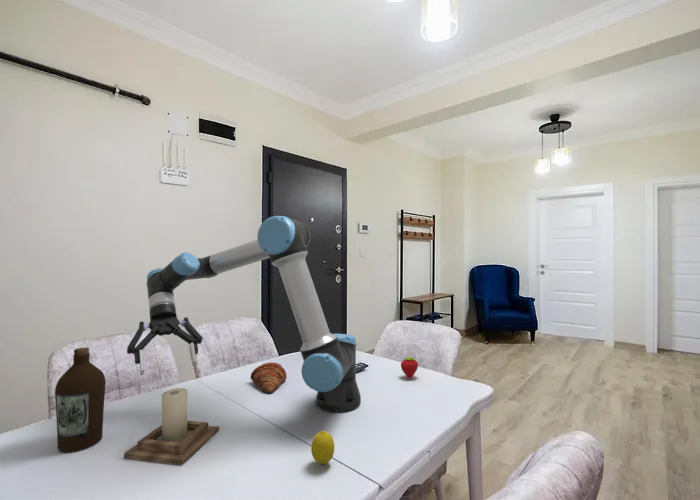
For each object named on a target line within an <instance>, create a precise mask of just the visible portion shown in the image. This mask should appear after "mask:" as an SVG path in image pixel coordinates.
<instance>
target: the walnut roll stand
mask: <svg viewBox="0 0 700 500" xmlns="http://www.w3.org/2000/svg"><path fill="white" fill-rule="evenodd" d="M219 431H220V426H215V425H209V422H208V421H198V420H197V421H196V420H187V436H186V437H185V438H184V439H183V440H181V441H180V442H171V441H162V424H161V425H159V426H158V427H156V428H155V429H154V430H152V431H150V432H149V433H148V434H146V435H145V436H144V437H142V438H140V439H139V440H138V441H137V442H136V444H135V445H134V446H133V447H131V448H129V449H128V450H127V451H126V452H124V453H123V459H125V460H133V461H134V460H136V461H141V462H142V461H144V462H152V463H161V464H171V465H176V466H177V465H178V466H183V465H185V464H186V462H188V461H189V460H190V459H191V458H192V457H193V456H194V455H195V454H196V453H197V452H199V450H200V449H202V447H204V445H206V444H207V443H208V441H210V440H211V439H212V438H213V437H214V436H215V435H216V434H217V433H218V432H219Z"/></svg>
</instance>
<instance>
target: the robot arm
mask: <svg viewBox="0 0 700 500" xmlns="http://www.w3.org/2000/svg"><path fill="white" fill-rule="evenodd" d="M310 242H311V232H310V229H309V227H308V226H307V224H305V223H304V222H303V221H301V220H298V219H294V218H289V217H287V216H286V215H285V216H284V215H274V216H270V217H268V218H266V219H265V220H264V221H263V222H262V223H261V224H260V227H259V228H258V231H257V239H254V240H252V241H250V242H247V243H244V244H243V243H242V244H240V245H237V246H234V247H230V248H229V249H226V250H225V249H224V250H223V251H222V250H221V251H220V252H216V253H213V254H211V255H207V256H204V257H196V255H194V254H192V253H190V252H187V251H186V252H182V253H181V254H179V255H178V256H175V257H174V259H173V260H172V261H170V263H168V264H167V265H166V266H165V267H164V268H161V267H160V268H155V269H151V270H150V271H149V272H148V273H147V275H146V290H147V298H148V307H149V308H148V309H149V323H147V322H144V321H139V325H138V329H137V330H136V332H135V334H134V336H133V337H132V339H131V341H130V342H129V343H128V345H127V348H126V353H127V354H128V355H130V354H133V355H134V364H135V365H139V375H140V376H144V374H145V373H144V372H145V366H144V363H145V362H144V349H145V348H146V347H147V346H148V345H149V344H150V343H151V341H152V340H153V339H155V338H156V337H157V336H159V337H160V336H161V337H163V336H165V335H166V336H168V335H169V336H170V335H171V334H172V335H174V336H177V337H178V338H180V339H181V340H183V341H184V342H186V343H187V344H189V352H190V353H189V354H190V358H191V365H192V367H194V366H196V364H197V356H196V355H198V353H199V346H198V345H201V344H202V341H203V336H202V335H201V334H200V333H199V332H198V331H197V329H196V328H195V327H194V326H193V325H192V324H191V322H190V320H189V317H186V316H185V317H184V318H183V319H178V315H177V309H176V303H175V301H176V300H175V295H174V290H175V289H176V288H178V287H179V286H180V285H182V284H183V283H184V282H186V281H189V280H198V279H211V278H214V277H216V276H218V275H220V274H223V273H225V272H228V271H232V270H236V269H238V268H242V267H244V266H247V265H251V264H254V263H258V262H260V261H264V260H267V259H269V260H270V263H271V265H272V266H274V267H276V268H277V269H278V271H279V274H280V277H281V279H282V283H283V285H284V289H285V291H286V295H287V298H288V301H289V305H290V307H291V311H292V313H293V315H294V319H295V321H296V322H295V323H296V325H297V328H298V330H299V331H298V332H299V334H300V337H301V340H302V346H301V347H300V353H301V357H302V360H303V363H302V364H301V377H302V379H303V381H304V384H305V385H307V386H308V387H309V389H312V390H313V391H315V392H316V395H315V404H316V406H317V407H318V408H319V409H320V410H323V411H326V412H331V413H346V412H350V411H353V410H355V409H358V407H360V405H361V402H362V398H361V392H360V390H359V386H358V383H357V378H356V377H357V375H356V371H357V369H356V368H357V367H356V364H357V361H356V359H357V355H356V353H357V342H356V340H357V339H356V337H355V336H354V335H352V334H347V333H346V334H345V333H331V332H330V329H329V327H328V326H329V325H328V323H327V320H326V318H325V314H324V311H323V308H322V305H321V302H320V300H319V295H318V293H317V291H316V288H315V284H314V282H313V281H314V280H313V278H312V276H311V272H310V270H309V267H308V264H307V261H306V258H307V256H308V254H309V253H308V249H307V248H308V246H309V245H310ZM179 325H180V326H181V327H184V329H185V330H186V331H185V330H183V329H182V328H181V327H180V326H179ZM147 329H150V332H149V333H148V334H147V335H146V336H145V337H143V338H142V340H141V337H142V335H143V334H144V333H143V332H145V331H146V330H147ZM140 340H141V341H140ZM139 341H140V342H139Z"/></svg>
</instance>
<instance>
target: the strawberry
mask: <svg viewBox="0 0 700 500" xmlns="http://www.w3.org/2000/svg"><path fill="white" fill-rule="evenodd" d="M416 359H417V358H416V357H412V355H411V354H409V356H406V358H404V359H402V360H401V362H400V367H401V370H402V372H403V373H404V375H405V376H406V377H407V378H408V379H409V378H410V379H412V378H413V376H414V375H415V374H416V372H417V370H418V368H419V363H418V361H417V360H416Z"/></svg>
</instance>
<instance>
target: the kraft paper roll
mask: <svg viewBox="0 0 700 500" xmlns="http://www.w3.org/2000/svg"><path fill="white" fill-rule="evenodd" d="M187 421H188V390H187V389H186V388H182V387H181V388H172V389H169V390H166V391H165V392H163V393H162V394H161V425H162V441H171V442H180V441H181V440H183V439H184V438H185V437H186V436H187Z"/></svg>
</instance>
